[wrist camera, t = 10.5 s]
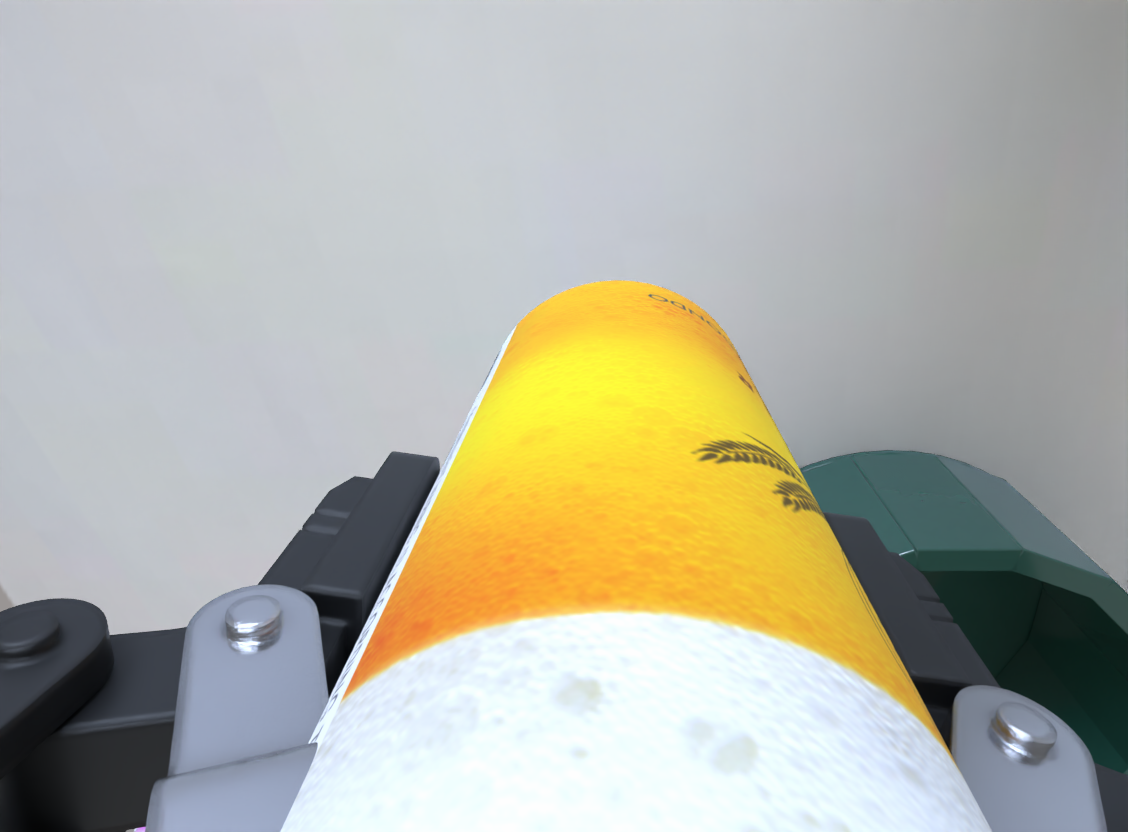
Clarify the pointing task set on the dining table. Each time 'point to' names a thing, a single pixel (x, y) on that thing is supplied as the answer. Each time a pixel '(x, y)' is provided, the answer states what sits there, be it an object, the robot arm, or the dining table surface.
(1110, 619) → the pot
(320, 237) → the dining table surface
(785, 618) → the beer can
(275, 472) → the dining table surface
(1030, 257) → the dining table surface
